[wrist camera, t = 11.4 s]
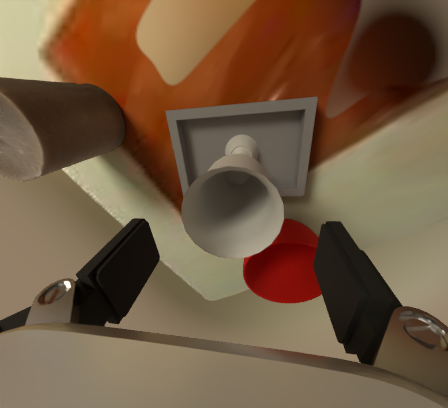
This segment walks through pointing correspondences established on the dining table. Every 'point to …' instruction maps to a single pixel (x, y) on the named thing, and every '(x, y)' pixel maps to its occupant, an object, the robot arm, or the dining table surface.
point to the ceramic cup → (285, 266)
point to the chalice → (233, 204)
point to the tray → (252, 126)
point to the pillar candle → (54, 126)
